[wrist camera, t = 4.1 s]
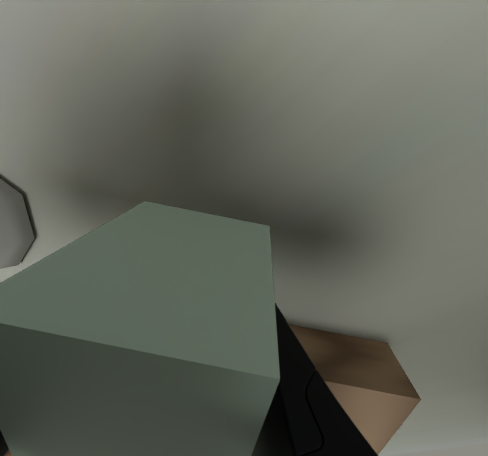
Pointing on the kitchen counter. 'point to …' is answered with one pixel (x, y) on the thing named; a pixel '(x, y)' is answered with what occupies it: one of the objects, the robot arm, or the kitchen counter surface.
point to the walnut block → (362, 381)
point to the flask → (13, 227)
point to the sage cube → (142, 340)
